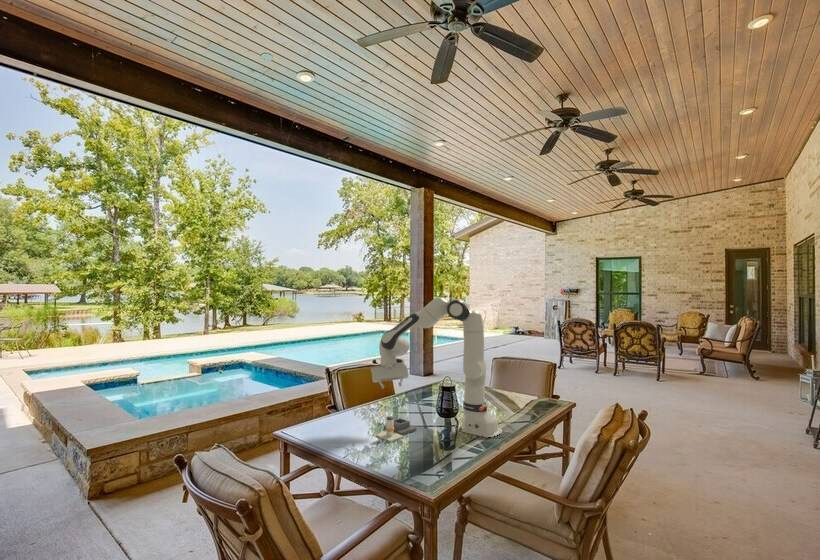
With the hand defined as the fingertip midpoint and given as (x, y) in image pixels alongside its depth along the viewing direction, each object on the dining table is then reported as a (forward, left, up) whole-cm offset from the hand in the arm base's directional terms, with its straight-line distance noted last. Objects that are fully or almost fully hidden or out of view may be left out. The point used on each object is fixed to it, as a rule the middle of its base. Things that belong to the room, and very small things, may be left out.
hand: (391, 387), depth 218 cm
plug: (-10, +10, -21) cm, 25 cm away
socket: (-6, -1, -22) cm, 22 cm away
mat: (-10, +10, -22) cm, 26 cm away
